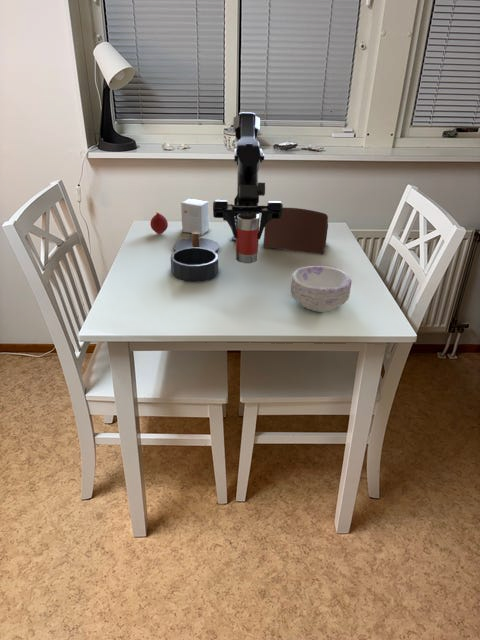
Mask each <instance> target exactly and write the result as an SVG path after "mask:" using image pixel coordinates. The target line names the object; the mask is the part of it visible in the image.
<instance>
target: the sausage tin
mask: <svg viewBox="0 0 480 640" xmlns="http://www.w3.org/2000/svg"><path fill="white" fill-rule="evenodd" d="M259 228H260V214H259V215H258V214H256V213H252V212H243V213H239V214H237V226H236V241H235V260H236V261H237V262H238V263H242V264H253V263H256V262H258V255H259V254H258V253H259V239H258V237H259Z"/></svg>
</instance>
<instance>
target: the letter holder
mask: <svg viewBox="0 0 480 640" xmlns="http://www.w3.org/2000/svg"><path fill="white" fill-rule="evenodd" d="M328 220H329V216H328V214H326V213H324V212H321V211H317V210H311V209H305V208H298V207H283V211H282V215H281V218H280V219H271V221H270V222H267V223H266V225H265V227H264V230H263V232H264V235H263V248H264V249H265V248H267V249H276V250H283V251H285V250H286V251H293V252H300V253H308V254H316V255H324V253H325V249H326V246H327V245H326V244H327V238H328V237H327V236H328V230H329V221H328Z"/></svg>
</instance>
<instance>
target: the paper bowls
mask: <svg viewBox="0 0 480 640" xmlns="http://www.w3.org/2000/svg"><path fill="white" fill-rule="evenodd" d="M290 279H291V280H290V295H291V296H292V297H293V298H294V299H295V300H296V301H298V303H299V304H300V306H302V307H303V308H305V309H307V310H309V311H313V312H318V313H324V312H331V311H333V310H336V309H337V308H338V307H339V306H340V305H342V304H345V303H346V302H347V301H349V300H350V295H351V289H352V278H351V276H350V275H349V274H347V273H346V272H345V271H343V270H341V269H339V268H336V267H335V268H334V267H331V266H325V265H324V266H323V265H309V266H304V267H300V268H297V269H296V270H294V271H293V273H292V274H291V278H290Z"/></svg>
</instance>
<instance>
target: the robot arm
mask: <svg viewBox="0 0 480 640" xmlns="http://www.w3.org/2000/svg"><path fill="white" fill-rule="evenodd" d="M232 123H233V125H232V131H233V132H232V133H234V134H235V137H234V139H235V141H236V147H234V152H233V153H234V154H233V155H234V163H236V166H237V179H236V181H237V187H236V188H237V189H236V196H235V197H234V199H233V200H234V201H233V203H228V202H229V200H227V199H215V200H214V201H213V202H212V215H213V218H215V219H222V220H223V221H224V222H226V223H227V224H228V226H229V228H230V230H231V233H232V235H233V237H232V238H231V241H235V242H236V226H237V214H239V213H243V212H252V213H256V214H258V215H259V216H260V220H259V237H258V240H261V238H262V236H263V232H264V230H265V225H266V223H267V222H270V221H271V219H280V218H281V215H282V211H283V208H284V207H283V206H284V204H283V202H282V201H280V200H279V201H278V200H268V201H267V204H266V205H259V203H260V197H265V194H266V182H259V171H260V164H261V163H263V161H265V153H264V152H263V149H262V148H260V141H258V139H257V137H258V134H259V133H260V130H261V129H260V126H261V118H260V117H259V116H257V115H256V113H254V112H248V111H247V112H244V111H242V112H239V113H238V115H236V116H234V117H233V122H232ZM260 214H261V215H260Z"/></svg>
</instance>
